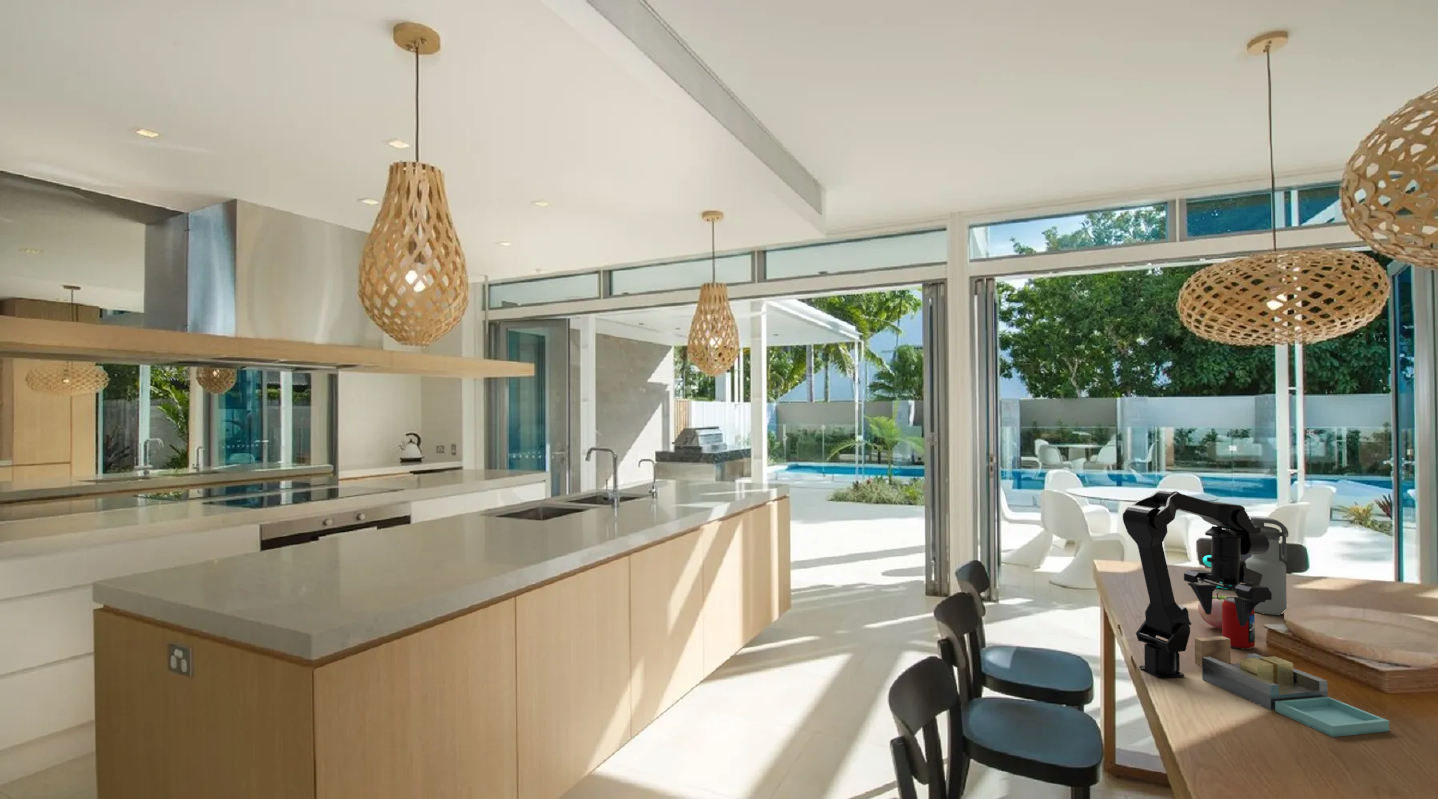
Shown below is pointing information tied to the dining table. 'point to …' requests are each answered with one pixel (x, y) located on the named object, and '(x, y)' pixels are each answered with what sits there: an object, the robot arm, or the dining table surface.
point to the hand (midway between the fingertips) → (1224, 619)
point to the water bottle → (1271, 566)
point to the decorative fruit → (1213, 612)
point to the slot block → (1261, 683)
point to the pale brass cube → (1258, 668)
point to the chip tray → (1331, 716)
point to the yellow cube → (1280, 669)
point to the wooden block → (1213, 649)
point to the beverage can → (1237, 626)
